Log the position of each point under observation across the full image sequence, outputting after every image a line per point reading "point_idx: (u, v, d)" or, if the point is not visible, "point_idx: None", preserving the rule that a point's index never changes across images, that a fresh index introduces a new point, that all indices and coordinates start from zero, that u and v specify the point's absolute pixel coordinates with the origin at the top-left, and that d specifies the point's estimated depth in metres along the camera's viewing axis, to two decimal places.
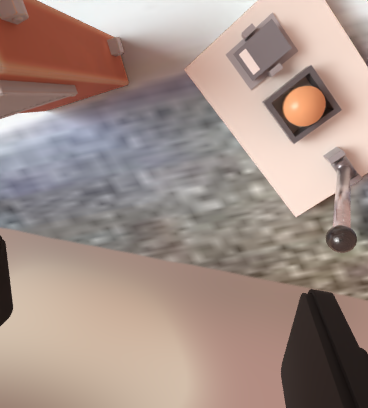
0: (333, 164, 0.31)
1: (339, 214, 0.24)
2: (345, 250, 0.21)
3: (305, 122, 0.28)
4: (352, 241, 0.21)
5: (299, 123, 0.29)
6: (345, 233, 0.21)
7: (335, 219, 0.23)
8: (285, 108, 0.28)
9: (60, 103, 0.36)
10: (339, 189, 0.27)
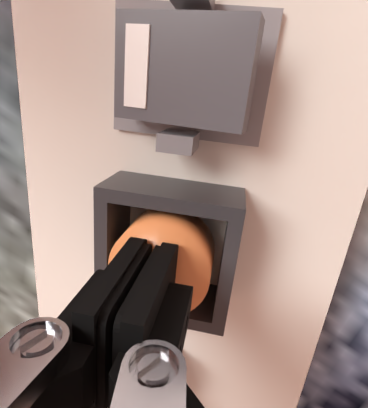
0: None
1: None
2: None
3: None
4: None
5: None
6: None
7: None
8: (119, 241, 0.10)
9: None
10: None
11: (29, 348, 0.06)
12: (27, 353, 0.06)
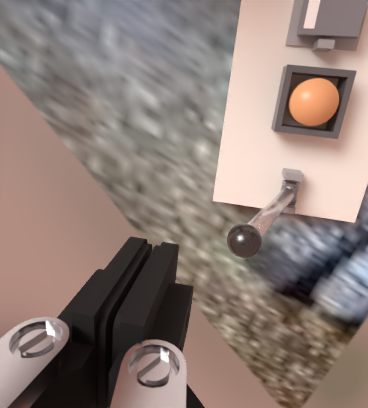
0: (285, 181, 0.28)
1: (260, 219, 0.19)
2: (239, 253, 0.17)
3: (301, 117, 0.24)
4: (253, 250, 0.17)
5: (296, 113, 0.24)
6: (254, 237, 0.17)
7: (253, 221, 0.19)
8: (298, 88, 0.24)
9: None
10: (275, 202, 0.23)
11: (29, 348, 0.06)
12: (27, 353, 0.06)
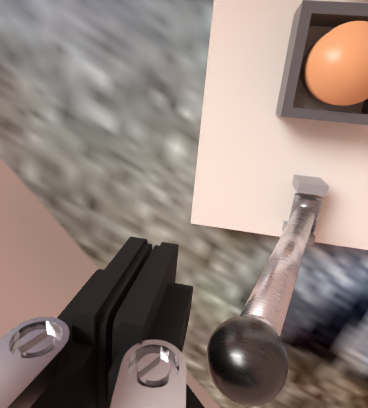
0: (298, 196, 0.18)
1: (276, 290, 0.09)
2: (235, 401, 0.07)
3: (326, 92, 0.15)
4: (270, 395, 0.07)
5: (318, 85, 0.15)
6: (272, 366, 0.07)
7: (262, 297, 0.09)
8: (322, 40, 0.14)
9: None
10: (292, 239, 0.13)
11: (29, 348, 0.06)
12: (27, 353, 0.06)
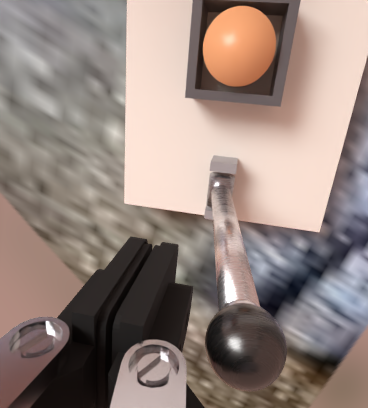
0: (214, 176, 0.19)
1: (242, 270, 0.10)
2: (249, 389, 0.07)
3: (220, 73, 0.16)
4: None
5: (212, 67, 0.16)
6: (278, 344, 0.07)
7: (235, 280, 0.09)
8: (212, 24, 0.15)
9: None
10: (228, 217, 0.14)
11: (29, 348, 0.06)
12: (27, 353, 0.06)
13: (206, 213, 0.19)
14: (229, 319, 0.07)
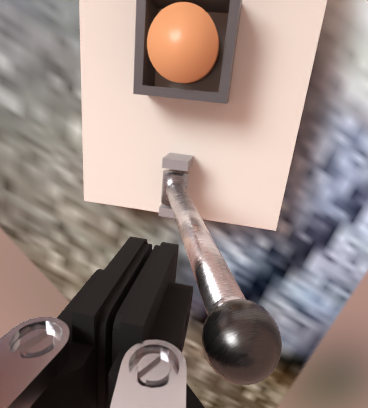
0: (168, 173, 0.18)
1: (222, 266, 0.10)
2: (252, 382, 0.07)
3: (165, 69, 0.16)
4: None
5: (157, 63, 0.16)
6: (275, 334, 0.07)
7: (218, 277, 0.09)
8: (155, 20, 0.15)
9: None
10: (193, 215, 0.14)
11: (29, 348, 0.06)
12: (27, 353, 0.06)
13: (160, 210, 0.19)
14: (227, 317, 0.07)
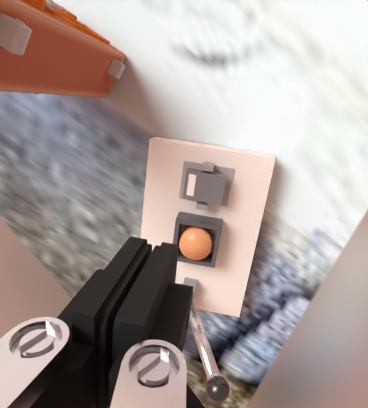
0: None
1: (212, 359, 0.28)
2: (220, 401, 0.25)
3: (187, 254, 0.34)
4: (227, 395, 0.26)
5: (183, 251, 0.34)
6: (227, 387, 0.26)
7: (211, 365, 0.28)
8: (183, 235, 0.33)
9: None
10: (199, 327, 0.32)
11: (29, 348, 0.06)
12: (27, 353, 0.06)
13: None
14: (214, 383, 0.26)
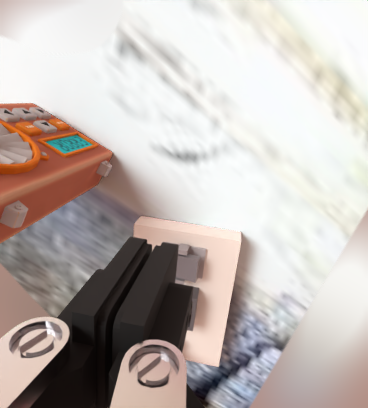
0: None
1: None
2: None
3: None
4: None
5: None
6: None
7: None
8: None
9: None
10: None
11: (29, 348, 0.06)
12: (27, 353, 0.06)
13: None
14: None
